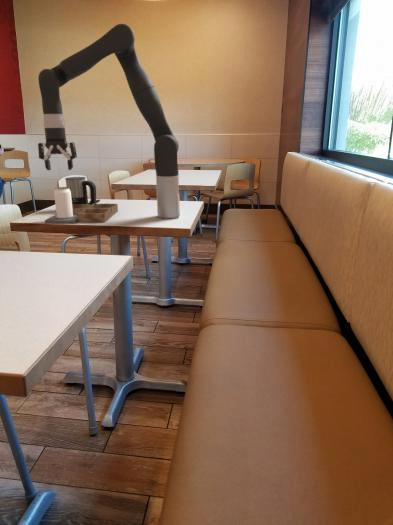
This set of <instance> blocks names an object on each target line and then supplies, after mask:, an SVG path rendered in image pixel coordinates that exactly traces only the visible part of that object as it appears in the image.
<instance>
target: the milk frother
mask: <svg viewBox="0 0 393 525" xmlns="http://www.w3.org/2000/svg"><path fill="white" fill-rule="evenodd" d="M64 180H65V184H66V185H65V187H69V189H70V191H71V198H72V204H90V205H92V204H99V203H100V201H101V199H97V186H96V183H94V182H93V181H91V180H86V176H70V177H69V176H68V177H65V178H64ZM87 186H88V187H89V193H90V194H89V195H90V200H89V198H88V189H87V188H88V187H87Z"/></svg>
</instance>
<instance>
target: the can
mask: <svg viewBox="0 0 393 525" xmlns="http://www.w3.org/2000/svg"><path fill="white" fill-rule="evenodd" d="M53 194H54V204H55V212H56V214H57V217H58V218H59V219H67V218H72V217H73V208H72V198H71V191H70V189H69V187H66V186H59V187H54V192H53ZM56 214H55V215H56Z"/></svg>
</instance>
